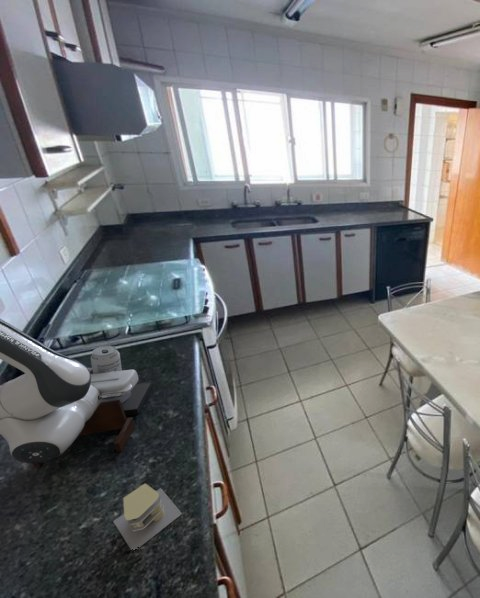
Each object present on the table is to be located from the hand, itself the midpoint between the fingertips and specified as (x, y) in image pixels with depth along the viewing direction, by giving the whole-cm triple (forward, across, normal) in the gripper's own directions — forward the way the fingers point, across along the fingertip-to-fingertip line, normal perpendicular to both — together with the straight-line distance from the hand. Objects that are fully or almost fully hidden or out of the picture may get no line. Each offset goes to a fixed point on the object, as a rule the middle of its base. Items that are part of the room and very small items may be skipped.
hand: (102, 368), depth 92 cm
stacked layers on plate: (-41, -20, +12) cm, 47 cm away
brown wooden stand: (-16, 0, +12) cm, 20 cm away
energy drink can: (-1, 0, +9) cm, 9 cm away
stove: (-1, 0, +12) cm, 13 cm away
